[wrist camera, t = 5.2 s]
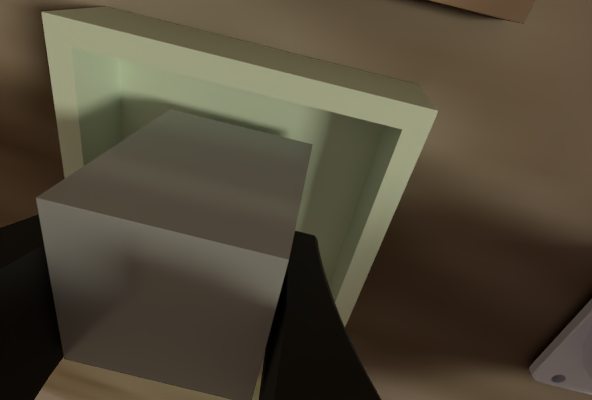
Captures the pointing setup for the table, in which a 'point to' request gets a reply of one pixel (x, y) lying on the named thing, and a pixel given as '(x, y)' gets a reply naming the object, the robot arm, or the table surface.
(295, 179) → the grey block
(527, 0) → the brown shallow tray
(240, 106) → the green bin
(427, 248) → the table surface
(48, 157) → the table surface
